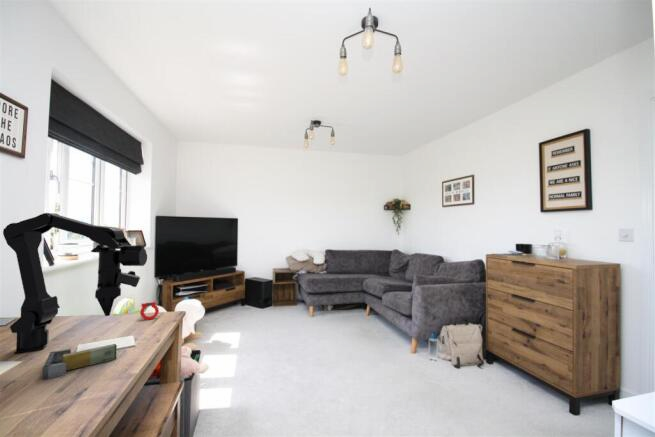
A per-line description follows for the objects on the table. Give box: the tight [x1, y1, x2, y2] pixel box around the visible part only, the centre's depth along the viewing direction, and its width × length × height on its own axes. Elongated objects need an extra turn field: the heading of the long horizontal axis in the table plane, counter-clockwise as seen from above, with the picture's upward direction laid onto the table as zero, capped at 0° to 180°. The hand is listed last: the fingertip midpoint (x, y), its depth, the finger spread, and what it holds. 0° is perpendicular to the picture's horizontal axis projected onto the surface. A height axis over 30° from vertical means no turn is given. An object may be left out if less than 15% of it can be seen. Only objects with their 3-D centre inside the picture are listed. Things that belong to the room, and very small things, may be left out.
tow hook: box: [139, 301, 160, 321], centre depth 126 cm, size 7×10×7 cm
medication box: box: [61, 344, 118, 372], centre depth 83 cm, size 12×3×4 cm, turn 136°
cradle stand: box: [41, 348, 72, 381], centre depth 80 cm, size 4×11×3 cm, turn 36°
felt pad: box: [75, 335, 136, 352], centre depth 95 cm, size 15×10×1 cm, turn 126°
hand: (107, 314), depth 96 cm, fingers open, 4 cm apart
